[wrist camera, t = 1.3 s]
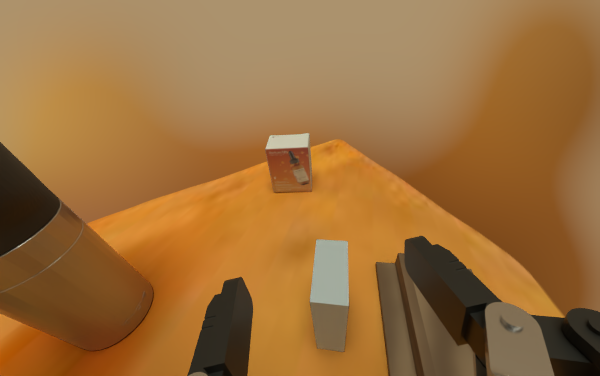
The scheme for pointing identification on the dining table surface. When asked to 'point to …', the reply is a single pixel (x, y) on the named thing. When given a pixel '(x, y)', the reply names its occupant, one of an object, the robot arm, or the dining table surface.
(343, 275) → the grey rectangular block
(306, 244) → the dining table surface
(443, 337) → the rack
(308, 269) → the dining table surface
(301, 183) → the small box
